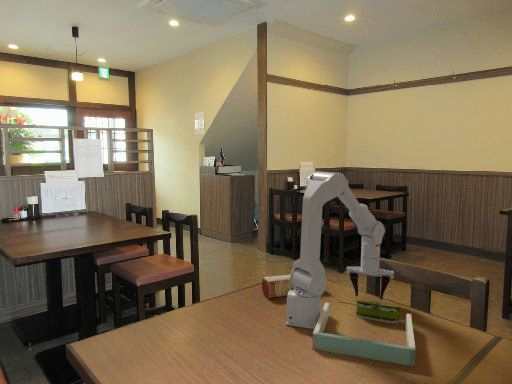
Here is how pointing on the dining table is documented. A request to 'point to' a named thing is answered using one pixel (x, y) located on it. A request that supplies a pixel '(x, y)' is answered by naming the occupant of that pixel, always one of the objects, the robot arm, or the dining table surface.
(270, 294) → the snack package
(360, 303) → the toy tank
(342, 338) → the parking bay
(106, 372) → the dining table surface
